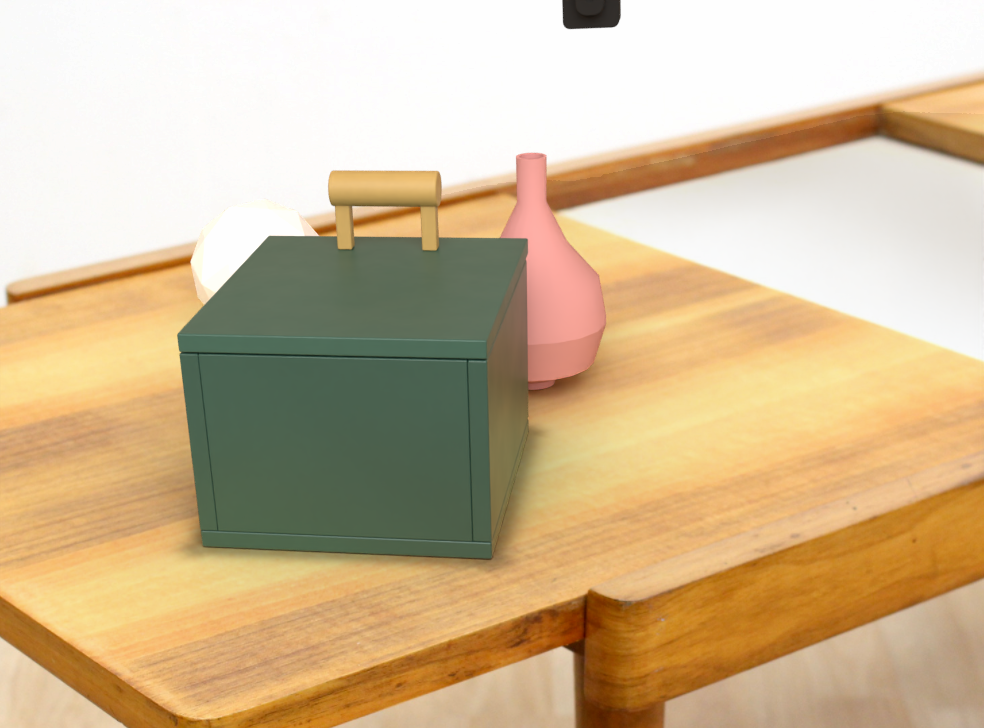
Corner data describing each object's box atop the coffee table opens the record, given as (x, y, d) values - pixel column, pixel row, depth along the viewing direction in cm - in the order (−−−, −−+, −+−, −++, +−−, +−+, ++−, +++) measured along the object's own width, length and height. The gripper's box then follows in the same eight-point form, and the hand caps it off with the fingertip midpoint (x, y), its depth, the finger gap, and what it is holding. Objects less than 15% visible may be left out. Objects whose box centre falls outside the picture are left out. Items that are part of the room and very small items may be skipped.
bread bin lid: (269, 251, 75) (261, 160, 73) (528, 254, 73) (527, 160, 71) (178, 352, 63) (165, 246, 61) (487, 359, 61) (484, 250, 59)
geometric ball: (271, 385, 91) (223, 308, 84) (197, 311, 95) (145, 230, 88) (369, 304, 92) (329, 221, 85) (291, 233, 96) (248, 148, 89)
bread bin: (281, 424, 79) (266, 255, 75) (528, 432, 77) (526, 259, 73) (201, 547, 67) (178, 353, 63) (492, 559, 65) (487, 361, 61)
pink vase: (575, 417, 78) (575, 180, 73) (438, 398, 81) (428, 168, 76) (625, 366, 84) (629, 143, 79) (496, 350, 87) (491, 134, 82)
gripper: (653, -356, 74) (653, 44, 82) (662, -338, 87) (662, 5, 95) (496, -344, 75) (511, 50, 83) (529, -328, 88) (539, 10, 96)
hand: (592, 25), depth 89 cm, fingers closed
